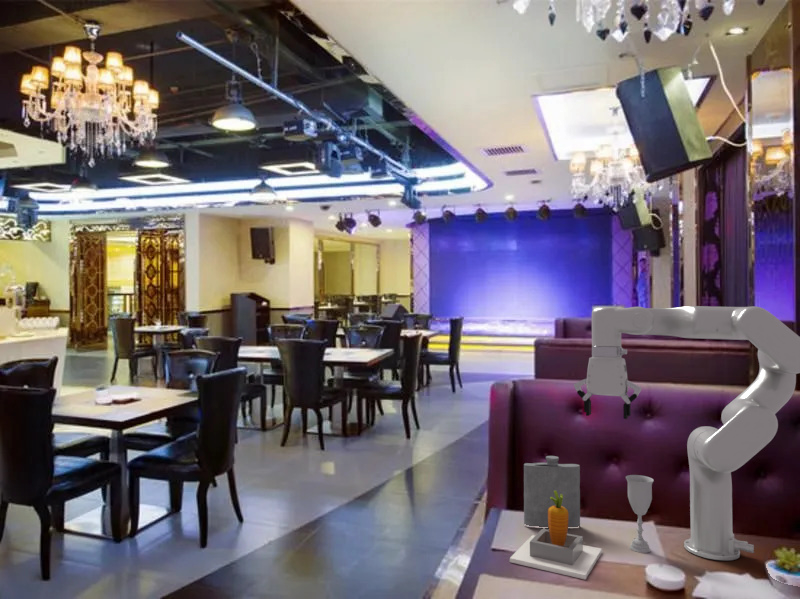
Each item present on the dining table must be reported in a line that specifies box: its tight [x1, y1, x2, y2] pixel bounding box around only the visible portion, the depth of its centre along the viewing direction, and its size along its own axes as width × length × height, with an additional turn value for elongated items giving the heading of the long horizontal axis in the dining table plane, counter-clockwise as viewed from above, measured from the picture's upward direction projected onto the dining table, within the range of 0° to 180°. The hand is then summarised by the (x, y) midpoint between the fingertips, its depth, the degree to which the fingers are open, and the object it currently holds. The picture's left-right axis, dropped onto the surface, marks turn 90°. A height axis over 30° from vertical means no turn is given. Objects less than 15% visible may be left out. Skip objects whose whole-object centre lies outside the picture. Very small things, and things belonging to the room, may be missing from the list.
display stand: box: [509, 529, 603, 580], centre depth 142 cm, size 18×18×4 cm
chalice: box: [625, 474, 655, 554], centre depth 148 cm, size 7×7×18 cm
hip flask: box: [523, 455, 581, 527], centre depth 164 cm, size 16×4×20 cm, turn 88°
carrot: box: [548, 491, 569, 546], centre depth 142 cm, size 5×5×15 cm
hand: (607, 416), depth 153 cm, fingers open, 9 cm apart
